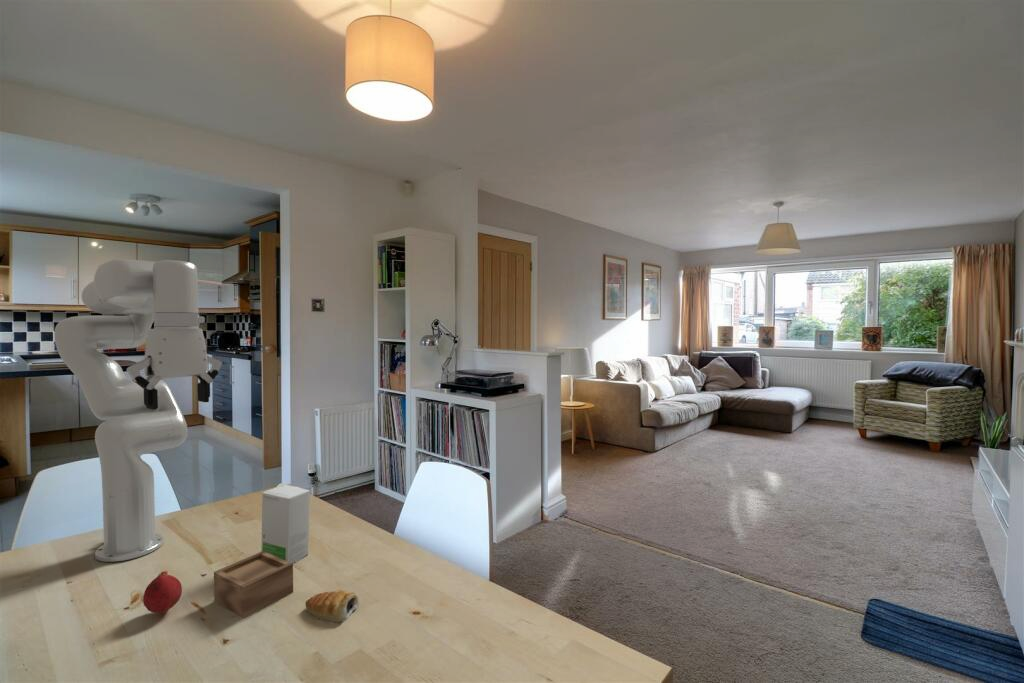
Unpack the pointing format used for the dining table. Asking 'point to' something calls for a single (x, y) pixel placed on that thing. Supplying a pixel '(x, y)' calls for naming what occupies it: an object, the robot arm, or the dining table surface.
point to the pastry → (333, 605)
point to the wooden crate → (253, 583)
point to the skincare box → (285, 522)
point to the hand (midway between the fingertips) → (178, 405)
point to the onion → (162, 593)
